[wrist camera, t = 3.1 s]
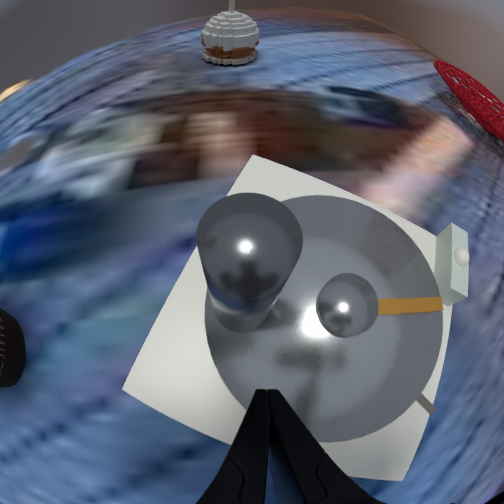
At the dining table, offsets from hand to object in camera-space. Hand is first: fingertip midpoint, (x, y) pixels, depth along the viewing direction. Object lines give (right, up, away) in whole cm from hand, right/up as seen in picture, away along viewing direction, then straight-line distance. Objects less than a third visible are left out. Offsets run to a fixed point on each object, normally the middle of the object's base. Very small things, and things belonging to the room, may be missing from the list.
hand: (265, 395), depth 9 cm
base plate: (+5, +1, +8) cm, 10 cm away
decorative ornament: (-4, +34, +24) cm, 41 cm away
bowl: (+48, +34, +28) cm, 65 cm away
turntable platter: (+5, +1, +7) cm, 9 cm away
